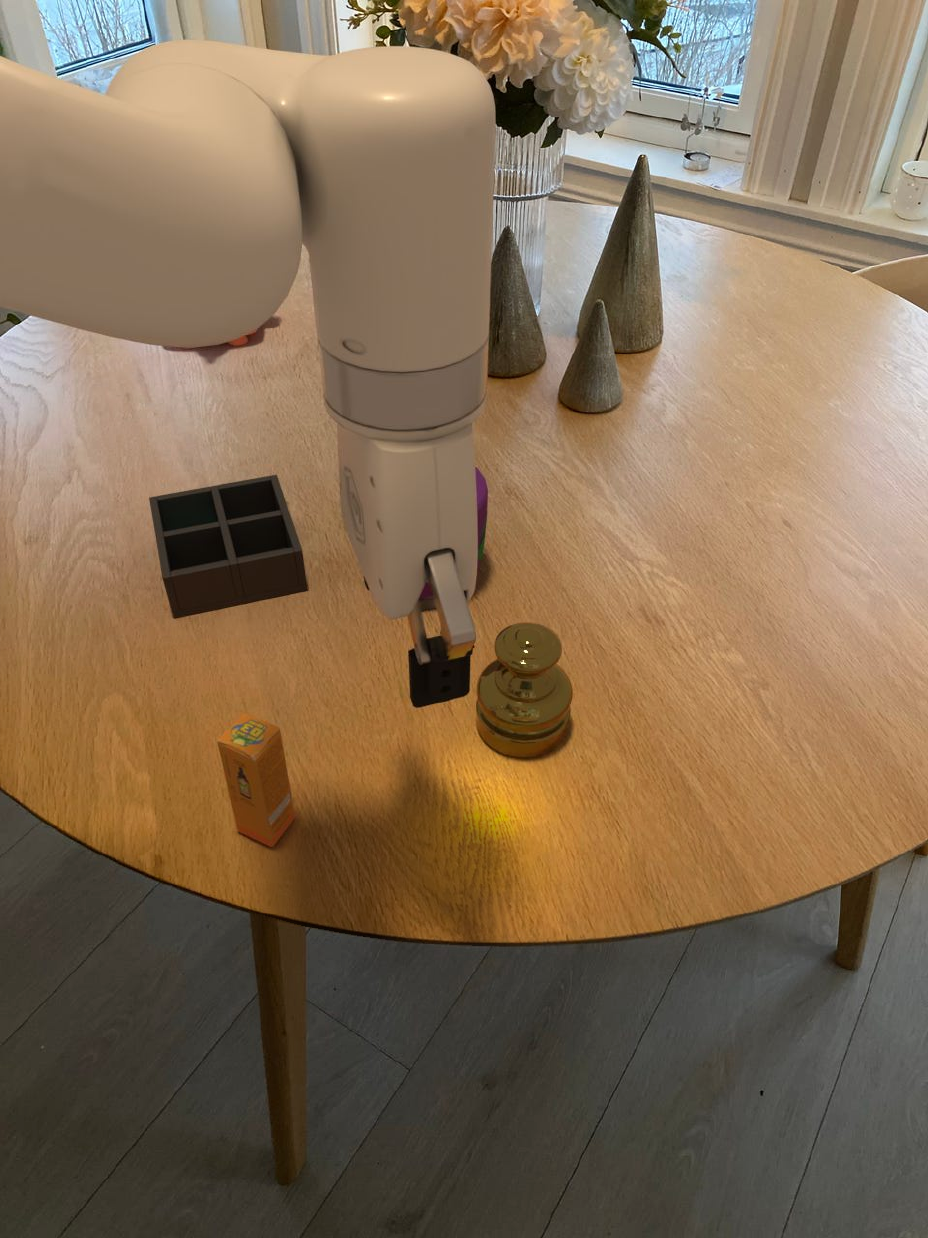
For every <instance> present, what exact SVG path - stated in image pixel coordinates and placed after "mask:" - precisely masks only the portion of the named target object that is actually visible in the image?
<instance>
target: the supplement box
mask: <svg viewBox="0 0 928 1238" xmlns="http://www.w3.org/2000/svg"><path fill="white" fill-rule="evenodd" d="M281 732H282V731H281V727H279V726H277V725H275V724H273V723H270V722H268V721H265V720H263V719H262V718H259V717H256V716H254V715H252V714H249V713H247V712H243V713H242V714H241V715H240V716H239V717H238V718H237V719H235V721H234V722H233V723H232V724H231V725H230V726H229V727H228V728H227V729H226V730H225V731H224V732H223V733H222V734H221V735H220V737H218V739H217V740H216V741H217V747H218V751H219V755H220V759H221V763H222V767H223V768H222V769H223V773H224V778H225V782H226V787H227V791H228V795H229V800H230V804H231V809H232V814H233V819H234V822H235V827H236V828H235V829H236V830H237V832H239V833H241V834H242V835H245V836H247V837H249V838H250V839H252V840H255V841H257V842H259V843H261V844H263V845H265V846H267V847H270V848H274V846H275V845H276V844H277V842H278V841H279V840H280V838H281V837H282V836H283V835H284V833H285V832H286V831H287V829H288V828H289V827H290V826H291V824H292V823H293V822H294V821H295V819H296V814H295V806H294V801H293V796H292V788H291V783H290V778H289V773H288V767H287V761H286V756H285V750H284V744H283V739H282V733H281Z"/></svg>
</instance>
